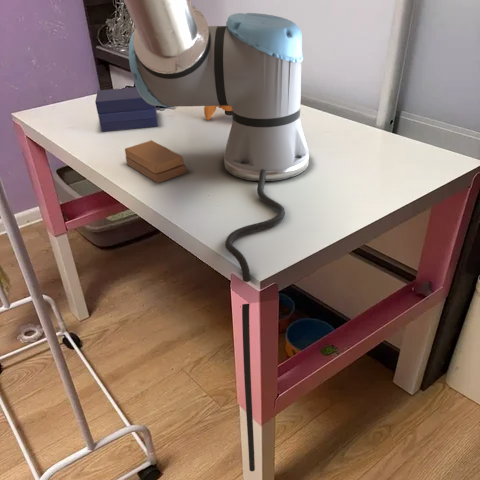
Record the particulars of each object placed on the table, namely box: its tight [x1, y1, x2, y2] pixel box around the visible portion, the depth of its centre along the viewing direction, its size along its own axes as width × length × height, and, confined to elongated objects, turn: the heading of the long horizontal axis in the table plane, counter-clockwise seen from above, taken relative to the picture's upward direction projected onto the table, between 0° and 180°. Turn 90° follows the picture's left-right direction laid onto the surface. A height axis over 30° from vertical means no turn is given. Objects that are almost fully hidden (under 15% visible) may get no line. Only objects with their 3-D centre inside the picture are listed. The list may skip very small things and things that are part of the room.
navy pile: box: [97, 106, 159, 133], centre depth 111 cm, size 12×8×4 cm, turn 99°
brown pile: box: [124, 140, 187, 184], centre depth 92 cm, size 11×6×3 cm, turn 39°
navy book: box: [94, 86, 155, 115], centre depth 110 cm, size 12×8×2 cm, turn 99°
